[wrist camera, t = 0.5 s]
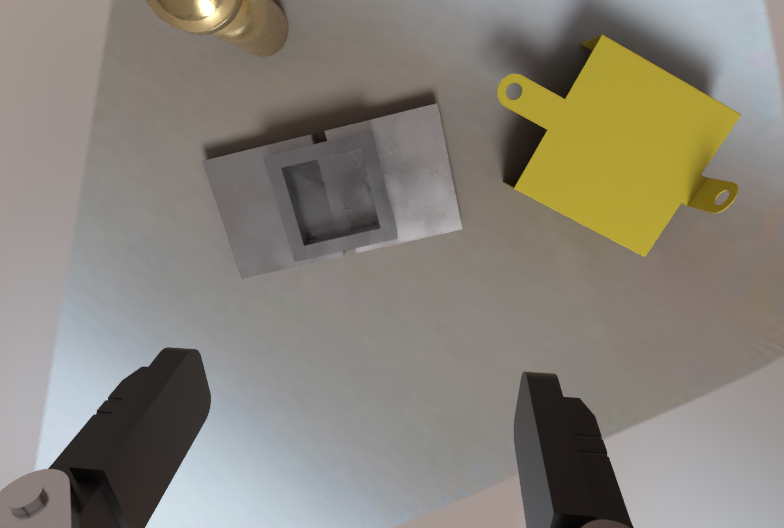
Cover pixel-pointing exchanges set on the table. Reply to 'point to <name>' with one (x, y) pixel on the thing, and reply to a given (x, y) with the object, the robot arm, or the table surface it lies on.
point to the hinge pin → (229, 21)
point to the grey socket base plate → (336, 192)
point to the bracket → (623, 145)
